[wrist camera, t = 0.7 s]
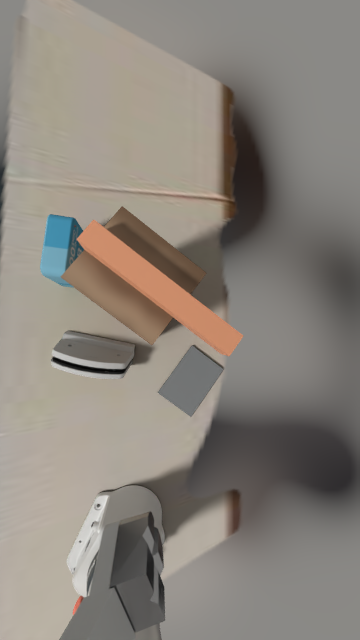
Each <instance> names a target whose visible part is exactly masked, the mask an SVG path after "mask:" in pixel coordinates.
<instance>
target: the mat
mask: <svg viewBox="0 0 360 640" xmlns="http://www.w3.org/2000/svg"><path fill="white" fill-rule="evenodd" d="M223 370H224V369H222V368H221V367H220V366H219V365H217V364H216V363H215V362H213V361H212V360H211V359H209V358H208V357H207V356H205V355H204V354H203V353H201V352H200V351H199V350H197V349H196V348H195V347H193V346H191V347H190V349H189V350H188V351H187V353H186V354H185V356H184V357H183V358H182V360H181V361H180V362H179V364H178V365H177V367H176V368H175V369H174V371H173V372H172V374H171V375H170V376H169V378H168V379H167V380H166V382H165V383H164V385H163V386H162V387H161V389H160V390H159V391H158V393H159V394H160V395H162V396H163V397H164V398H166V399H167V400H169V401H170V402H171V403H173V404H174V405H175V406H177V407H178V408H180V409H181V410H182V411H184V412H185V413H186V414H188V415H189V416H190V417H191V416H192V415H193V413H194V412H195V410H196V409H197V407H198V406H199V404H200V403H201V402H202V400H203V399H204V397H205V396H206V394H207V393H208V391H209V390H210V388H211V387H212V386H213V384H214V383H215V381H216V380H217V378H218V377H219V375H220V374H221V372H222V371H223Z"/></svg>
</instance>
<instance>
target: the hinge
mask: <svg viewBox="0 0 360 640" xmlns="http://www.w3.org/2000/svg"><path fill="white" fill-rule="evenodd" d="M134 348H135V344H131V343H126V342H121V341H116V340H111V339H106V338H101V337H96V336H91V335H86V334H81V333H76V332H71V331H66V332H65V333H64V335H63V337H62V339H61V340H60V341H59V343H58V344H57V345H56V346H55V347H54V348H53V351H52V356H53V358H52V359H51V363H52V366H53V367H55V368H57V369H60V370H62V371H65V372H69V373H72V374H76V375H81V376H86V377H92V378H102V379H121V378H123V377H124V375H125V374H126V372H127V371H128V369H129V368H130V366H131V364H132V362H133V361H132V358H133V357H134Z"/></svg>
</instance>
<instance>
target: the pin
mask: <svg viewBox="0 0 360 640" xmlns="http://www.w3.org/2000/svg"><path fill="white" fill-rule="evenodd" d="M77 241H78V242H79V243H80V244H81V246H82V247H83V248H84V250H86V251H87V252H88V253H90V254H91V255H92V256H94V257H95V258H96V259H97V260H99V261H100V262H101V263H103V264H104V265H105V266H107V267H108V268H109V269H111V270H112V271H113V272H115V273H116V274H117V275H118V276H120V277H121V278H122V279H124V280H125V281H126V282H128V283H129V284H130V285H132V286H133V287H134V288H135V289H137V290H138V291H139V292H141V293H142V294H143V295H145V296H146V297H147V298H149V299H150V300H151V301H152V302H154V303H155V304H156V305H158V306H159V307H160V308H162V309H163V310H164V311H166V312H167V313H168V314H169V315H171V316H172V317H173V318H175V319H176V320H177V321H179V322H180V323H181V324H183V325H184V326H185V327H187V328H188V329H189V330H190V331H192V332H193V333H194V334H196V335H197V336H198V337H200V338H201V339H202V340H204V341H205V342H206V343H207V344H209V345H210V346H211V347H213V348H214V349H215V350H217V351H218V352H219V353H221V354H223V355H227V356H230V355H231V353H232V352H233V350H234V349H235V347H236V346H237V345H238V343H239V342H240V340H241V339H242V337H243V335H242V334H240V333H239V332H238V331H236V330H235V329H234V328H233V327H231V326H230V325H229V324H227V323H226V322H225V321H224V320H222V319H221V318H220V317H218V316H217V315H216V314H215V313H213V312H212V311H211V310H209V309H208V308H207V307H206V306H204V305H203V304H202V303H200V302H199V301H198V300H197V299H195V298H194V297H193V296H191V295H190V294H189V293H188V292H186V291H185V290H184V289H182V288H181V287H180V286H179V285H177V284H176V283H175V282H173V281H172V280H171V279H170V278H168V277H167V276H166V275H164V274H163V273H162V272H161V271H159V270H158V269H157V268H155V267H154V266H153V265H152V264H150V263H149V262H148V261H146V260H145V259H144V258H143V257H141V256H140V255H139V254H137V253H136V252H135V251H134V250H132V249H131V248H130V247H128V246H127V245H126V244H125V243H123V242H122V241H121V240H120V239H118V238H117V237H116V236H114V235H113V234H112V233H111V232H109V231H108V230H107V229H105V228H104V227H103V226H102V225H100V224H99V223H98V222H96V221H95V220H93V221H92V222H91V223H90V224H89V225H88V227H87V228H86V229H85V230H84V231H83V232H82V233H81V234H80V236H79V237H78V238H77Z"/></svg>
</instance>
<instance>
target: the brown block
mask: <svg viewBox="0 0 360 640" xmlns="http://www.w3.org/2000/svg"><path fill="white" fill-rule="evenodd" d="M104 228H105V229H107V230H108V231H109V232H111V233H112V234H113V235H114V236H116V237H117V238H118V239H120V240H121V241H122V242H123V243H125V244H126V245H127V246H128V247H130V248H131V249H132V250H134V251H135V252H136V253H137V254H139V255H140V256H141V257H143V258H144V259H145V260H146V261H148V262H149V263H150V264H152V265H153V266H154V267H155V268H157V269H158V270H159V271H161V272H162V273H163V274H164V275H166V276H167V277H168V278H170V279H171V280H172V281H173V282H175V283H176V284H177V285H179V286H180V287H181V288H182V289H184V290H185V291H186V292H188V293H189V294H191V293H192V292H193V290H194V289H195V288H196V287H197V285H198V284H199V283H200V281H201V280H202V279H203V277H204V276H205V275H206V272H204V271H203V270H202V269H201V268H199V267H198V266H197V265H196V264H194V263H193V262H192V261H191V260H189V259H188V258H187V257H186V256H184V255H183V254H182V253H180V252H179V251H178V250H177V249H175V248H174V247H173V246H172V245H170V244H169V243H168V242H167V241H165V240H164V239H163V238H162V237H160V236H159V235H158V234H157V233H155V232H154V231H153V230H151V229H150V228H149V227H148V226H146V225H145V224H144V223H143V222H141V221H140V220H139V219H138V218H136V217H135V216H134V215H133V214H131V213H130V212H129V211H128V210H126V209H125V208H124V207H121V208H120V209H119V210H118V212H117V213H116V214H115V215H114V216H113V217H112V218H111V220H110V221H109V222H108V223H107V224H106V225H105V226H104ZM61 278H62V279H64V280H65V281H66V282H68V283H69V284H70V285H72V286H73V287H74V288H76V289H77V290H78V291H80V292H81V293H82V294H84V295H85V296H86V297H88V298H89V299H90V300H92V301H93V302H95V303H96V304H97V305H99V306H100V307H101V308H103V309H104V310H105V311H107V312H108V313H109V314H111V315H112V316H113V317H115V318H116V319H117V320H119V321H120V322H121V323H123V324H124V325H125V326H127V327H128V328H129V329H131V330H132V331H133V332H135V333H136V334H137V335H139V336H140V337H141V338H143V339H144V340H145V341H147V342H148V343H149V344H151V345H153V343H154V342H155V341H156V339H157V338H158V337H159V335H160V334H161V333H162V331H163V330H164V329H165V327H166V326H167V325H168V324H169V322H170V321H171V320H172V318H173V317H172V316H171V315H169V314H168V313H167V312H166V311H164V310H163V309H162V308H160V307H159V306H158V305H156V304H155V303H154V302H152V301H151V300H150V299H149V298H147V297H146V296H145V295H143V294H142V293H141V292H139V291H138V290H137V289H135V288H134V287H133V286H132V285H130V284H129V283H128V282H126V281H125V280H124V279H122V278H121V277H120V276H118V275H117V274H116V273H115V272H113V271H112V270H111V269H109V268H108V267H107V266H105V265H104V264H103V263H101V262H100V261H99V260H97V259H96V258H95V257H94V256H92V255H91V254H90V253H88V252H87V251H86V250H83V252H82V253H81V254H80V255H79V256H78V257H77V258H76V260H75V261H74V262H73V263H72V264H71V265H70V267H69V268H68V269H67V270H66V271H65V272H64V273H63V275H62V276H61Z"/></svg>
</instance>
